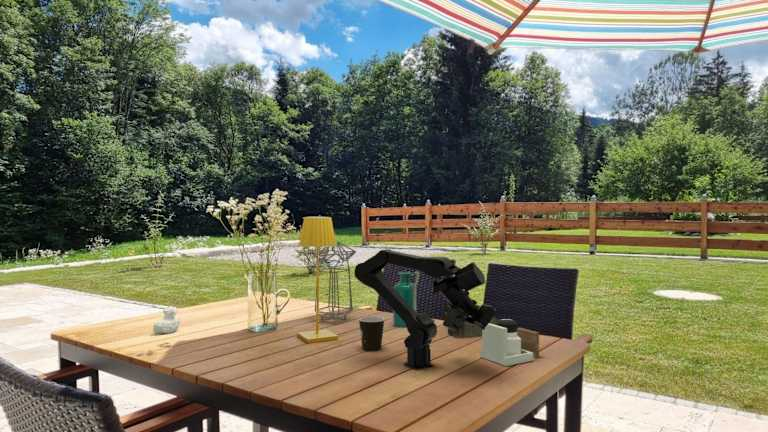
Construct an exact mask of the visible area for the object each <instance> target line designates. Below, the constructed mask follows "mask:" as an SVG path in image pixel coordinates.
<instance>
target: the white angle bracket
mask: <svg viewBox="0 0 768 432" xmlns="http://www.w3.org/2000/svg"><path fill="white" fill-rule="evenodd" d="M481 337H482V344H481V345H482V348H479V349H480V351H479V353H480V354H479V355H480V357H481V358H483V359H486V360H488V361H491V362H494V363H496V364H499V365H501V366H505V367H510V366H513V365H519V364H523V363H527V362H532V361H534V358H533V353H532V352H529V351H526V350H523V349H521V354H518V355H513V356H508V357H507V328H504V327H501V326H497V325H494V324H490V323H489V324H488V325H487V326H486V327H485V329H484V330H482V336H481Z"/></svg>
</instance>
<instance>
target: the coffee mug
mask: <svg viewBox="0 0 768 432" xmlns="http://www.w3.org/2000/svg"><path fill="white" fill-rule="evenodd" d="M358 321H359V332H360V341H361V347H362V350H363V351H366V352H377V351H378V352H379V351H380V350H382V345H383V344H382V342H383V334H384V326H385V318H384V317H379V316H378V317H377V316H363V317H361V318H359V319H358Z"/></svg>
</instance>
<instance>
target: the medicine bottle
mask: <svg viewBox="0 0 768 432" xmlns="http://www.w3.org/2000/svg"><path fill="white" fill-rule="evenodd" d="M498 326H501V327H504V328H507V357H508V356H513V355H518V354H521V338H520V337H519V336H518V335H517V328H518V322H517V321H515V320H514V319H509V318H507V319H505V318H504V319H499V321H498Z"/></svg>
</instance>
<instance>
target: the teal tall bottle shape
mask: <svg viewBox="0 0 768 432" xmlns="http://www.w3.org/2000/svg"><path fill="white" fill-rule="evenodd" d="M398 275H400V279H399V282H398V283H396V284H395V285H394V286H393V288H394V289H395V290H396V291H397V292H398V293H399V294H400V295H401V297H402V298H403V299H404V300H405V301H406V302H407V303H408V304H409V305H410V306H411V307H412V308H413V309H414V310H415V311H416V312H417V284H418V282H419V279H420V271H415V272H413V273H411V272H410V271H401V272H398ZM414 275H415V277H414V282H410V277H412V276H414ZM392 312H393V313H392V315H393V317H392V319H393V322H392V323H393V326H394V327H395V328H396V327H397V328H407V327H406V324H405V322H404V321H403V320H402V319H401V318H400V317H399V315H398V314H397V313H396V312H395V311H394V310H393V309H392Z"/></svg>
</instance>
